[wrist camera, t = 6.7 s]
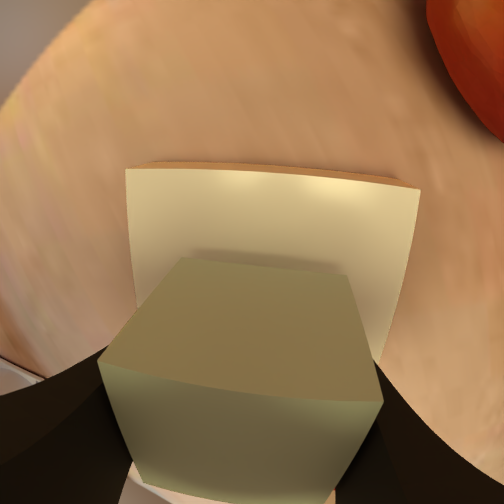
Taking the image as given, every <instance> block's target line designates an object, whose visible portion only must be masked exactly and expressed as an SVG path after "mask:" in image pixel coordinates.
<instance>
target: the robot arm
mask: <svg viewBox="0 0 504 504" xmlns="http://www.w3.org/2000/svg"><path fill="white" fill-rule="evenodd" d="M108 346H109V345H108ZM108 346H106V347H105V348H103V349H102V350H100V351H98V352H97V353H95V354H93V355H92V356H90V357H88V358H86V359H85V360H83V361H81V362H79V363H77V364H76V365H74V366H72V367H70V368H68V369H67V370H65V371H63V372H61V373H59V374H57V375H54V376H52V377H50V378H48V379H43V378H41V377H39V376H36V375H34V374H32V373H30V372H28V371H26V370H24V369H21V368H19V367H17V366H15V365H13V364H11V363H9V362H7V361H5V360H4V359H2V358H0V504H118V502H119V499H120V496H121V493H122V489H123V486H124V483H125V481H126V478H127V475H128V472H129V469H130V466H131V464H132V462H133V459H132V457H131V454H130V452H129V450H128V447H127V445H126V443H125V440H124V438H123V435H122V433H121V430H120V428H119V425H118V422H117V420H116V417H115V414H114V412H113V409H112V406H111V403H110V400H109V397H108V394H107V391H106V388H105V385H104V382H103V379H102V376H101V372H100V369H99V366H98V362H97V360H98V359H99V357H100V356H101V355H102V354H103V352H104V351H105V350H106V348H107V347H108ZM373 362H374V365H375V369H376V373H377V377H378V380H379V384H380V388H381V392H382V396H383V400H384V402H383V404H382V406H381V408H380V410H379V412H378V414H377V416H376V418H375V420H374V422H373V424H372V426H371V428H370V430H369V432H368V434H367V435H366V437H365V439H364V441H363V443H362V444H361V446H360V448H359V450H358V451H357V453H356V455H355V456H354V458H353V460H352V461H351V463H350V465H349V466H348V468H347V470H346V471H345V473H344V474H343V476H342V478H341V479H340V481H339V482H338V484H337V485H336V487H335V504H504V485H502V484H501V483H499V482H497V481H496V480H494V479H492V478H491V477H489V476H488V475H486V474H485V473H483V472H482V471H480V470H479V469H477V468H476V467H474V466H473V465H472V464H471V463H469V462H468V461H467V460H465V459H464V458H463V457H461V456H460V455H459V454H458V453H456V452H455V451H454V450H453V449H452V448H451V447H449V446H448V445H447V444H446V443H445V442H444V441H443V440H442V439H441V438H440V437H439V436H438V435H437V434H435V433H434V432H433V431H432V430H431V429H430V428H429V427H428V426H427V425H426V424H425V422H424V421H423V420H422V419H421V418H420V417H419V416H418V415H417V414H416V412H415V411H414V410H413V409H412V408H411V407H410V406H409V405H408V403H407V402H406V401H405V400H404V399H403V397H402V396H401V395H400V394H399V392H398V391H397V390H396V389H395V387H394V386H393V385H392V384H391V382H390V381H389V380H388V378H387V377H386V376H385V374H384V373H383V372H382V370H381V369H380V368H379V366H378V365H377V364H376V362H375V361H374V360H373Z"/></svg>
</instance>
